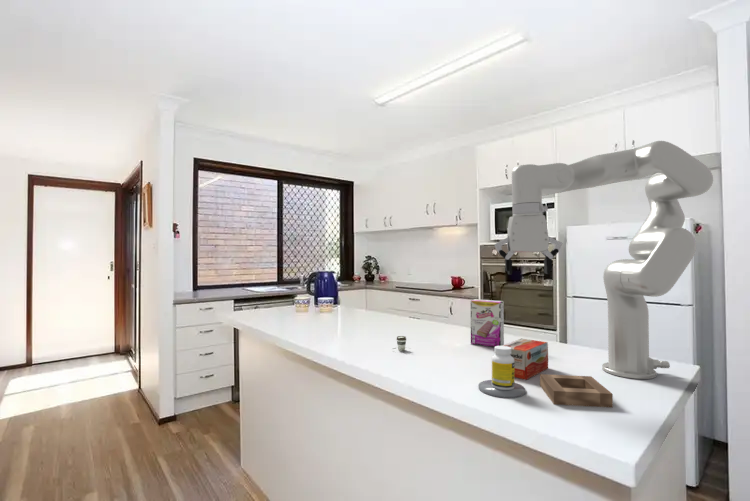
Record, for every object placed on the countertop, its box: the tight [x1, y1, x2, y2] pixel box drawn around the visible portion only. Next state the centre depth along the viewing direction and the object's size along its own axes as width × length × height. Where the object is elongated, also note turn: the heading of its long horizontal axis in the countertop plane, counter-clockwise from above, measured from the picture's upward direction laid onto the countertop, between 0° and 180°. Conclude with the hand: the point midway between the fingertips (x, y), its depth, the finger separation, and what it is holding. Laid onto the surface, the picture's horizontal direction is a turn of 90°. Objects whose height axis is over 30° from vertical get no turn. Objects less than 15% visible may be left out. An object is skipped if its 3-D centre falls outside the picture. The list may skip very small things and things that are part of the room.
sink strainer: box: [392, 335, 412, 353], centre depth 135 cm, size 12×12×5 cm
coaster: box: [477, 379, 526, 399], centre depth 94 cm, size 11×11×1 cm
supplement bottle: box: [491, 346, 516, 390], centre depth 95 cm, size 5×5×10 cm
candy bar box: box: [470, 298, 505, 348], centre depth 141 cm, size 11×5×16 cm, turn 58°
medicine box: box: [502, 338, 549, 381], centre depth 109 cm, size 15×8×8 cm, turn 135°
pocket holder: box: [539, 373, 614, 409], centre depth 90 cm, size 12×12×3 cm
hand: (528, 273), depth 104 cm, fingers open, 9 cm apart
